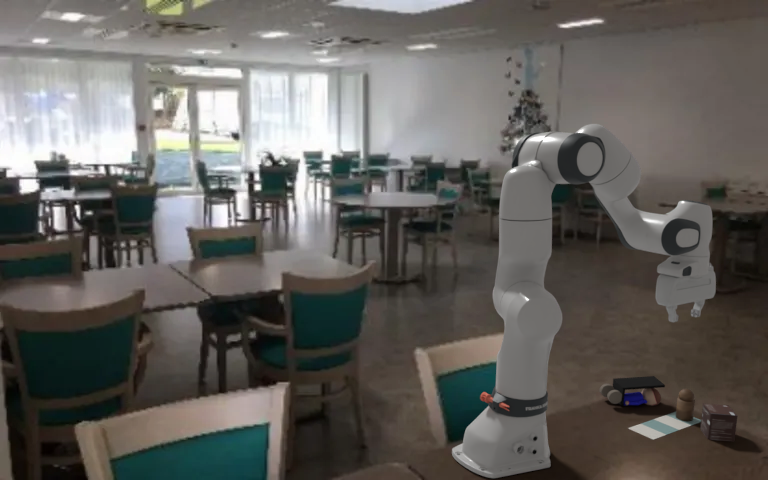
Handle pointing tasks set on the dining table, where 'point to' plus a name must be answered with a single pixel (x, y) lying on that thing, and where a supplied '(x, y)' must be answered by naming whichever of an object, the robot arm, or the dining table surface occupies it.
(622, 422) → the dining table surface
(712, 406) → the box
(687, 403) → the brown rounded cylinder
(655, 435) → the board
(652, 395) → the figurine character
